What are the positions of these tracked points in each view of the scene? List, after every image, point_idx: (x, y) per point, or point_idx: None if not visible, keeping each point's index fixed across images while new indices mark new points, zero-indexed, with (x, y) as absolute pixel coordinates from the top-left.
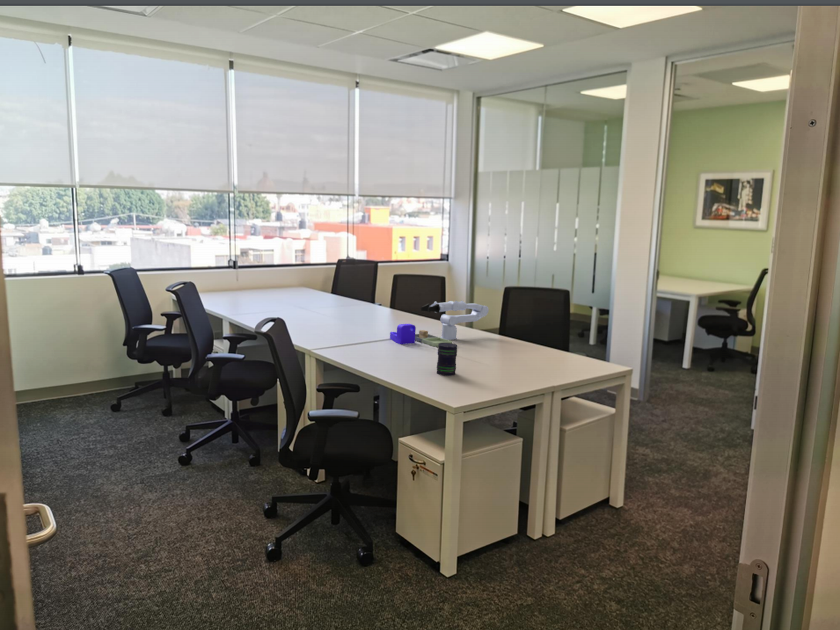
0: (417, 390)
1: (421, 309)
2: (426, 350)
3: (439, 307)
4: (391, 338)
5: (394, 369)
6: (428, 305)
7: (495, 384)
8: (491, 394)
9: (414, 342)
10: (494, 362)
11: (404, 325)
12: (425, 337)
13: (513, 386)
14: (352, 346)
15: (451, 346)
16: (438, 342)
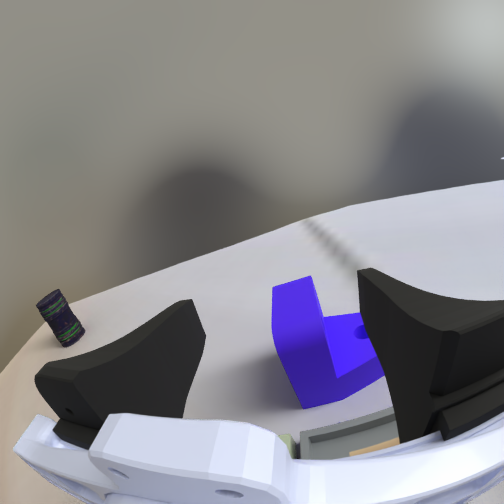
0: (88, 297)
1: (359, 298)
2: None
3: (65, 421)
4: None
5: (137, 293)
6: (421, 349)
7: (24, 359)
8: (31, 340)
9: (302, 405)
10: (13, 441)
11: (273, 289)
12: None
13: (10, 369)
14: (312, 251)
15: (43, 299)
16: None
